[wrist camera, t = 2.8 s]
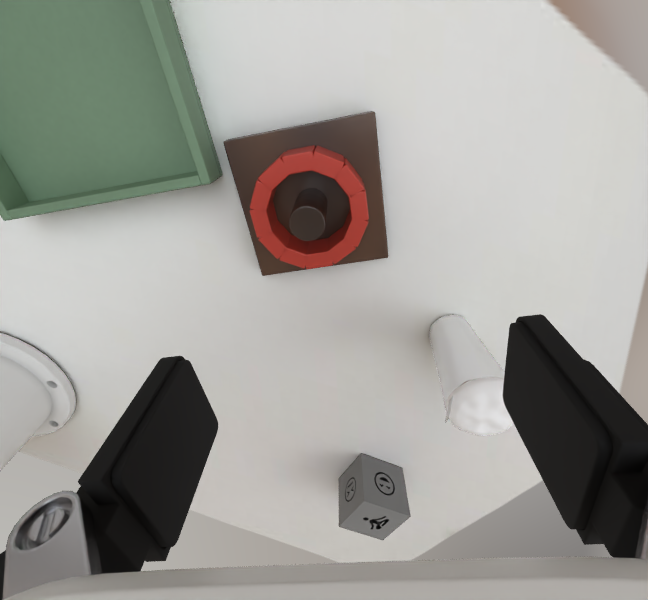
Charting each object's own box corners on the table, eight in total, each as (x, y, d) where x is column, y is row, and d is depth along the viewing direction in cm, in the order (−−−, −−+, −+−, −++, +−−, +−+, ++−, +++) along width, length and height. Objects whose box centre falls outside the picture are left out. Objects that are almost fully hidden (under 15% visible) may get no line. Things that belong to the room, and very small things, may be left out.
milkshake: (427, 296, 27) (467, 391, 19) (489, 316, 28) (556, 417, 19) (402, 341, 29) (428, 445, 21) (460, 358, 30) (508, 466, 22)
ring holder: (265, 269, 27) (250, 305, 22) (228, 139, 22) (200, 151, 18) (386, 250, 25) (396, 285, 21) (373, 110, 21) (382, 116, 17)
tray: (32, 209, 25) (3, 221, 23) (-144, -89, 17) (-212, -115, 15) (223, 175, 23) (211, 183, 21) (117, -172, 16) (82, -213, 14)
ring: (273, 260, 25) (267, 275, 23) (245, 157, 21) (236, 164, 19) (370, 245, 24) (373, 259, 22) (358, 136, 21) (360, 141, 19)
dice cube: (378, 492, 40) (382, 540, 36) (338, 478, 39) (338, 526, 35) (402, 468, 38) (410, 516, 34) (361, 453, 37) (364, 501, 33)
